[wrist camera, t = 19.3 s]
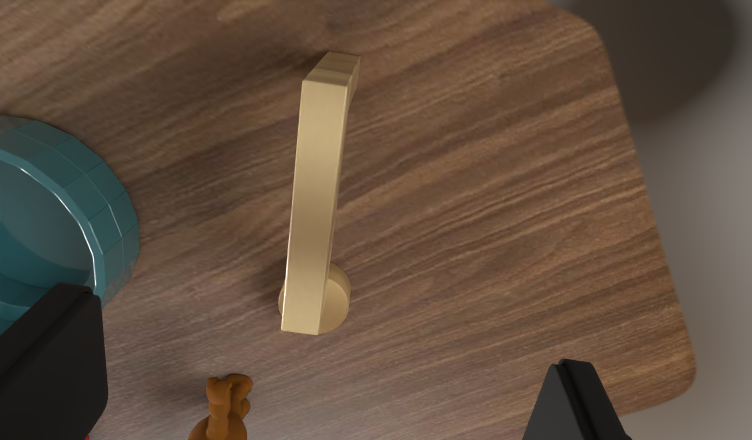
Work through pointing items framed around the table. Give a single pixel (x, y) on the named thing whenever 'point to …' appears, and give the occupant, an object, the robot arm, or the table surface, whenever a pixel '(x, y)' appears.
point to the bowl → (59, 218)
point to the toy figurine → (225, 409)
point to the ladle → (318, 200)
